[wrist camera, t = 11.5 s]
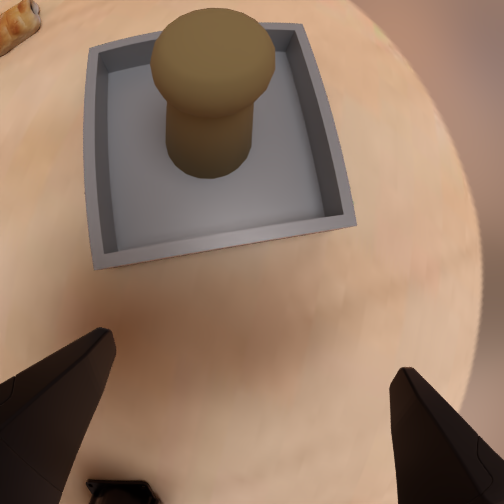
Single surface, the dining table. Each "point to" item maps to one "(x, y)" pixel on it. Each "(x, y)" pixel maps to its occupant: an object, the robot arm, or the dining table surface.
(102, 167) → the grey bin
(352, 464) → the dining table surface
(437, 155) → the dining table surface
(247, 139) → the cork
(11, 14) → the pastry
